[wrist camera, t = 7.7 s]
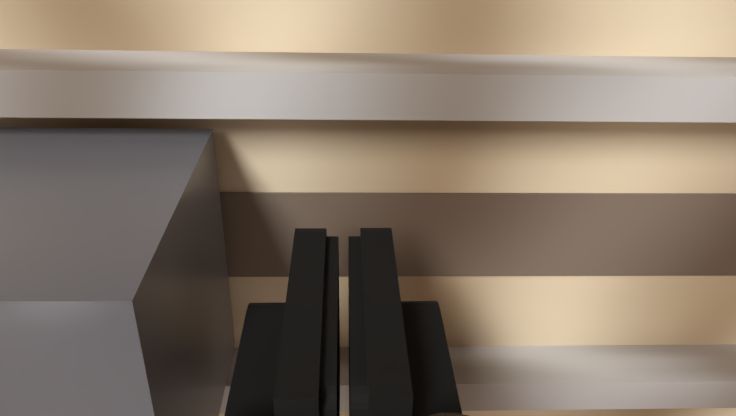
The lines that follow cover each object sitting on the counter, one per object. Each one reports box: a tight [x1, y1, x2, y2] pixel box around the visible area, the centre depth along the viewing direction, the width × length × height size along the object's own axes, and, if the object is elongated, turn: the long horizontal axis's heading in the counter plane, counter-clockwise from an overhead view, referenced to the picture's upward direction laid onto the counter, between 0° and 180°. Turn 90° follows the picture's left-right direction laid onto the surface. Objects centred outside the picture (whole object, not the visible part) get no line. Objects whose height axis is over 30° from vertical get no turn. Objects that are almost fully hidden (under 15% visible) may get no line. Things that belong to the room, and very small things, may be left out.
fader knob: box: [0, 127, 235, 416], centre depth 10 cm, size 5×5×5 cm
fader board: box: [0, 0, 736, 416], centre depth 14 cm, size 34×12×3 cm, turn 89°
